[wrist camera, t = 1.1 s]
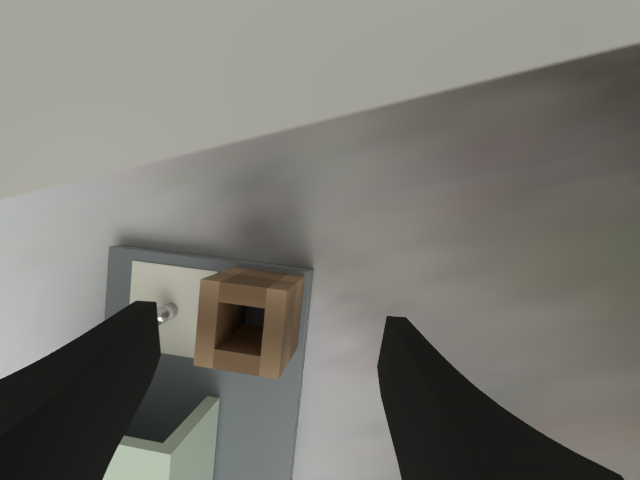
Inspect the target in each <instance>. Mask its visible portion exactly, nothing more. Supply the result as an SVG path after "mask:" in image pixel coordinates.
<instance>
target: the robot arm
mask: <svg viewBox="0 0 640 480" xmlns="http://www.w3.org/2000/svg"><path fill="white" fill-rule="evenodd" d="M160 357H161V348H160V337H159V326H158V314H157V303H156V302H151V301H135V302H133V303H131V304H130V305H128V306H126V307H125V308H123V309H122V310H120V311H119V312H117V313H116V314H114V315H113V316H111V317H109V318H108V319H106V320H105V321H103V322H102V323H100V324H99V325H97V326H96V327H94V328H92V329H91V330H89V331H88V332H86V333H85V334H83V335H82V336H80V337H78V338H77V339H75V340H73V341H71V342H70V343H68V344H66V345H65V346H63V347H61V348H60V349H58V350H56V351H54V352H53V353H51V354H49V355H48V356H46V357H44V358H42V359H40V360H38V361H36V362H35V363H33V364H31V365H29V366H27V367H25V368H23V369H21V370H19V371H17V372H15V373H13V374H11V375H8V376H6V377H4V378H2V379H0V480H103V478H104V475H105V473H106V470H107V468H108V466H109V464H110V462H111V460H112V457H113V455H114V453H115V451H116V449H117V447H118V446H119V444H120V442H121V440H122V438H123V436H124V434H125V432H126V430H127V429H128V427H129V425H130V423H131V421H132V419H133V417H134V415H135V413H136V411H137V410H138V408H139V406H140V404H141V402H142V400H143V398H144V396H145V394H146V392H147V390H148V388H149V386H150V384H151V382H152V379H153V376H154V374H155V371H156V368H157V365H158V362H159V360H160ZM377 368H378V377H379V385H380V392H381V398H382V402H383V406H384V410H385V414H386V418H387V422H388V426H389V429H390V433H391V437H392V441H393V445H394V449H395V452H396V456H397V460H398V464H399V469H400V473H401V478H402V480H624V479H623V477H622V476H621V475H619V474H617V473H615V472H613V471H611V470H609V469H607V468H605V467H603V466H601V465H599V464H597V463H595V462H593V461H591V460H589V459H587V458H585V457H583V456H581V455H579V454H577V453H575V452H573V451H572V450H570V449H568V448H566V447H564V446H563V445H561V444H559V443H557V442H556V441H554V440H552V439H550V438H549V437H547V436H545V435H544V434H542V433H540V432H539V431H537V430H536V429H534V428H532V427H531V426H529V425H528V424H526V423H525V422H523V421H522V420H520V419H519V418H517V417H516V416H514V415H513V414H511V413H510V412H508V411H507V410H505V409H504V408H503V407H501V406H500V405H498V404H497V403H496V402H495V401H493V400H492V399H491V398H489V397H488V396H487V395H486V394H484V393H483V392H482V391H480V390H479V389H478V388H477V387H476V386H474V385H473V384H472V383H471V382H470V381H468V380H467V379H466V378H465V377H464V376H463V375H462V374H461V373H460V372H458V371H457V370H456V369H455V368H454V367H453V366H452V365H451V364H450V363H449V362H448V361H447V360H446V359H445V358H444V357H443V356H442V355H441V354H440V353H439V352H438V351H437V350H436V349H435V348H434V347H433V346H432V345H431V344H430V343H429V342H428V341H427V340H426V339H425V337H424V336H423V335H422V334H421V333H420V332H419V331H418V330H417V329H416V328H415V327H414V326H413V324H412V323H411V322H410V321H409V320H408V319H407V318H406V317H392V316H387V318H386V323H385V329H384V334H383V339H382V345H381V350H380V355H379V361H378V366H377Z"/></svg>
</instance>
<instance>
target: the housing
mask: <svg viewBox="0 0 640 480" xmlns="http://www.w3.org/2000/svg"><path fill="white" fill-rule="evenodd" d="M219 401H220V398H217V397H211V396H207V397H206V398H205V399H204V400H203V401H202V402H201V403H200V404H199V405H198V407H197V408H196V409H195V410H194V411H193V412H192V413H191V414H190V415H189V416H188V417H187V418H186V419H185V420H184V421H183V422H182V424H181V425H180V426H179V427H178V428H177V429H176V430H175V431H174V432H173V433H172V434H171V435H170V436H169V437H168V438H167V440H166V441H165V442H164V443H159V442H154V441H149V440H144V439H139V438H133V437H128V436H123V438H122V440H121V442H120V444H119V446H118V447H117V449H116V451H115V453H114V455H113V457H112V460H111V462H110V464H109V466H108V468H107V470H106V473H105V475H104V478H103V480H213V471H214V459H215V448H216V436H217V424H218V413H219Z"/></svg>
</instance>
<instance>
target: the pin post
mask: <svg viewBox="0 0 640 480" xmlns="http://www.w3.org/2000/svg"><path fill="white" fill-rule="evenodd" d="M157 314H158V325H161V324H163V323H165V322H167V321H169V320H171V319H172V318H174V317H176V316H177V314H178V307H177V306H176V305H175V304H174V303H167V304H164V305H162V306H159V307H157Z"/></svg>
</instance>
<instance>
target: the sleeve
mask: <svg viewBox="0 0 640 480" xmlns="http://www.w3.org/2000/svg"><path fill="white" fill-rule="evenodd" d="M304 278H305V276H300V275H292V274H284V273H276V272H268V271H261V270H253V269H245V268H237V267H233V268H230V269H227V270H224V271H222V272H219V273H216V274H214V275H211V276H208V277H205V278H203V279H200V292H199V304H198V317H197V329H196V342H195V354H194V366H200V367H206V368H212V369H218V370H224V371H230V372H236V373H242V374H248V375H254V376H260V377H267V378H273V379H279V378H280V376H281V375H282V373H283V371H284V370H285V368H286V366H287V365H288V363H289V361H290V360H291V358H292V356H293V355H294V353H295V351H296V350H297V347H298V338H299V328H300V318H301V308H302V298H303V288H304ZM246 306H251V307H258V308H265V316H264V326H263V327H262V326H255V325H248V324H245V315H246Z"/></svg>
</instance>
